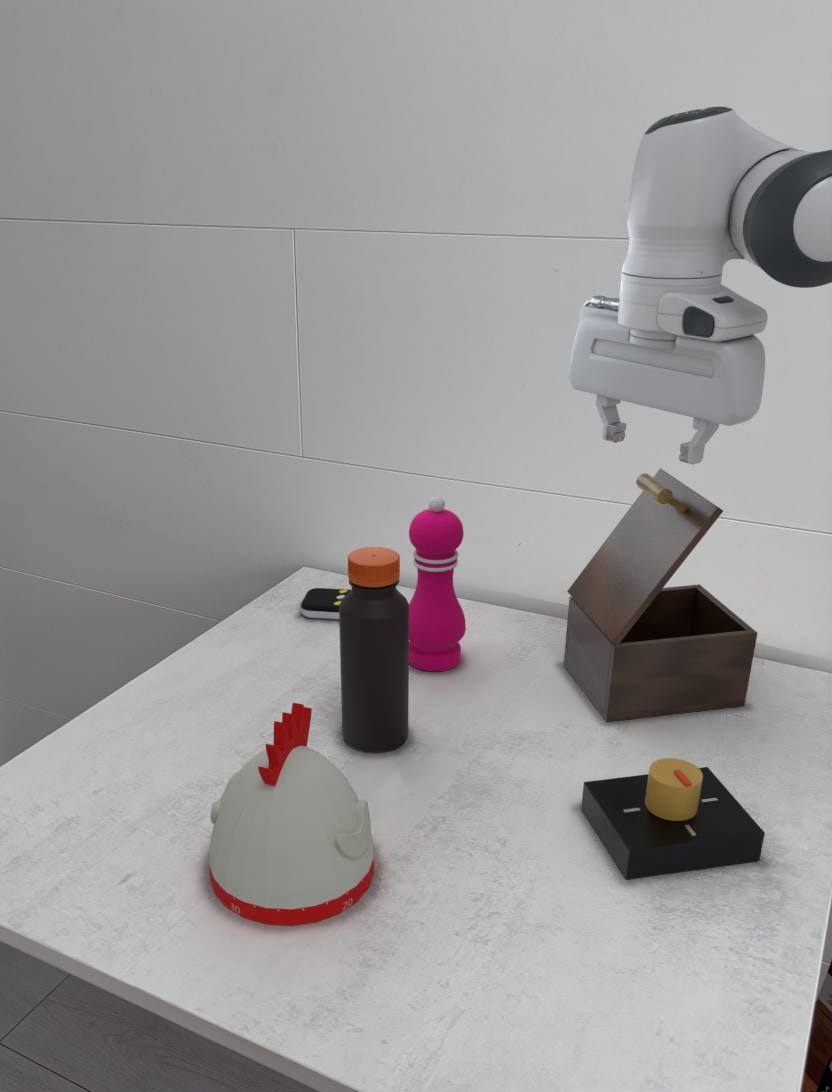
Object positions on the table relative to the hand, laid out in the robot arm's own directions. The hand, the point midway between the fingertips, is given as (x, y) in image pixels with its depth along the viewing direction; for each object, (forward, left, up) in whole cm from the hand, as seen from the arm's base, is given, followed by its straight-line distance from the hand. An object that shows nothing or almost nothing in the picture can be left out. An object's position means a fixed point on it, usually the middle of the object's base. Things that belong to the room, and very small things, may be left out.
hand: (650, 451), depth 101 cm
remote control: (+26, -26, -27) cm, 46 cm away
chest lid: (0, 0, -11) cm, 11 cm away
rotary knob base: (+7, +25, -27) cm, 37 cm away
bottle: (+29, +4, -27) cm, 40 cm away
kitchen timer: (+40, +23, -27) cm, 53 cm away
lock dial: (+7, +25, -24) cm, 35 cm away
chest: (-3, 0, -27) cm, 27 cm away
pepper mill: (+19, -11, -27) cm, 35 cm away
